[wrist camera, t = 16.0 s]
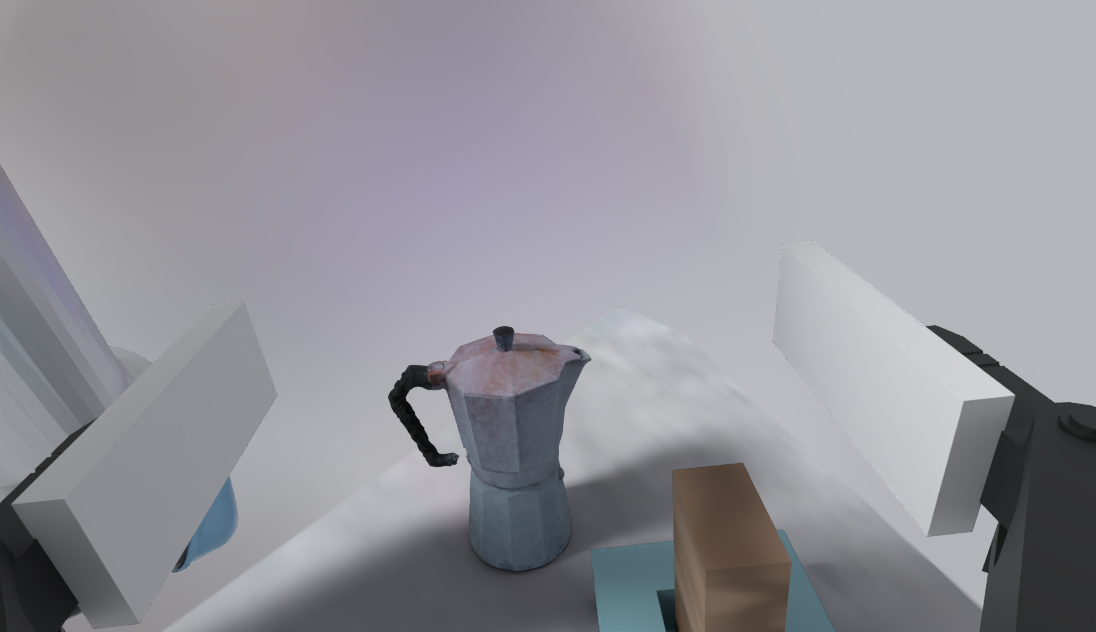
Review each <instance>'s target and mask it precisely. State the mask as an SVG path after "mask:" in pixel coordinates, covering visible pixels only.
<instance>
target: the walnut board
mask: <svg viewBox="0 0 1096 632" xmlns="http://www.w3.org/2000/svg"><path fill="white" fill-rule="evenodd" d="M673 522H674V578H675V632H785V624H786V614H787V604H788V594H789V584H790V575H791V565H792V561H791V559H790V557H789V555H788V553H787V551H786V549H785V547H784V545H783V543H782V541H781V539H780V537H779V535H778V533H777V531H776V529H775V527H774V525H773V523H772V521H771V519H770V517H769V515H768V513H767V511H766V509H765V507H764V504H763V502H762V500H761V498H760V496H759V494H758V492H757V490H756V488H755V486H754V484H753V482H752V480H751V478H750V476H749V474H748V472H747V470H746V468H745V466H744V464H743V463H736V464H727V465H717V466H708V467H698V468H689V469H679V470H673Z"/></svg>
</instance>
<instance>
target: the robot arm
mask: <svg viewBox="0 0 1096 632" xmlns="http://www.w3.org/2000/svg"><path fill="white" fill-rule="evenodd" d="M773 343H774V344H775V345H776V346H777V348H778V349H779V350H780V352H781V353H782V354H783V355H784V356H785V358H786V359H787V360H788V362H789V363H790V364H791V365H792V366H793V368H794V369H795V371H796V372H797V373H798V374H799V376H800V377H801V378H802V379H803V381H804V382H805V383H806V384H807V386H808V387H809V388H810V389H811V391H812V392H813V393H814V395H815V396H816V397H817V398H818V399H819V401H820V402H821V403H822V405H823V406H824V407H825V408H826V410H827V411H828V412H829V413H830V415H831V416H832V417H833V418H834V420H835V421H836V422H837V424H838V425H839V426H840V427H841V429H842V430H843V431H844V432H845V434H846V435H847V436H848V437H849V439H850V440H851V441H852V442H853V444H854V445H855V446H856V448H857V449H858V450H859V451H860V452H861V454H862V455H863V456H864V458H865V459H866V460H867V462H868V463H869V464H870V465H871V467H872V468H873V469H874V470H875V472H876V473H877V474H878V475H879V477H880V478H881V479H882V481H883V482H884V483H885V484H886V486H887V487H888V488H889V489H890V491H891V492H892V493H893V494H894V496H895V497H896V498H897V499H898V501H899V502H900V503H901V505H902V506H903V507H904V508H905V510H906V511H907V512H908V513H909V515H910V516H911V517H912V518H913V520H914V521H915V522H916V523H917V525H918V526H919V527H920V528H921V530H922V531H923V532H924V534H925V535H926V536H927V537H929V536H938V535H947V534H956V533H965V532H972V531H973V528H974V525H975V522H976V519H977V515H978V512H979V509H980V506H981V504H982V505H983V506H984V507H985V508H986V509H987V510H988V511H989V512H990V513H991V514H992V515H993V516H994V517H995V518H996V519H997V520H998V525H997V528H996V531H995V534H994V537H993V540H992V543H991V546H990V549H989V551H988V554H987V558H986V560H985V563H984V566H983V569H982V571H984V572H987V573H988V577H987V584H986V591H985V599H984V605H983V612H982V619H981V626H980V632H1096V407H1094V406H1091V405H1084V404H1078V403H1071V402H1063V403H1054V402H1053V401H1052V400H1050V399H1048V398H1047V397H1046V396H1045V395H1043V394H1042V393H1040V392H1039V391H1038V390H1036V389H1035V388H1034V387H1032V386H1031V385H1029V384H1028V383H1027V382H1025V381H1024V380H1023V379H1021V378H1020V377H1018V376H1017V375H1015V374H1014V373H1013V372H1011V371H1010V370H1008V369H1007V368H1006V367H1005V366H1000V365H999V362H998V361H996V360H995V359H993V358H992V357H991V356H989V355H988V354H983V351H982V350H981V349H979V348H978V347H977V346H975V345H974V344H972V343H971V342H970V341H968V340H967V339H966V338H964V337H963V336H960V335H958V334H955V333H953V332H951V331H948V330H946V329H943V328H941V327H939V326H936V325H934V326H924V325H923V324H921V323H920V322H919V321H917V320H916V319H915V318H913V317H912V316H911V315H909V314H908V313H907V312H906V311H904V310H903V309H902V308H900V307H899V306H898V305H897V304H895V303H894V302H893V301H891V300H890V299H889V298H887V297H886V296H885V295H883V294H882V293H881V292H879V291H878V290H877V289H876V288H874V287H873V286H872V285H870V284H869V283H868V282H866V281H865V280H864V279H862V278H861V277H860V276H858V275H857V274H856V273H855V272H853V271H852V270H851V269H849V268H848V267H847V266H845V265H844V264H843V263H841V262H840V261H839V260H838V259H836V258H835V257H833V256H832V255H831V254H830V253H828V252H827V251H826V250H824V249H823V248H822V247H820V246H819V245H818V244H816V243H815V242H814V241H805V242H796V243H787V244H782V247H781V258H780V270H779V280H778V291H777V302H776V313H775V323H774V334H773ZM276 397H277V392H276V389H275V387H274V384H273V381H272V378H271V375H270V372H269V369H268V367H267V364H266V361H265V358H264V355H263V353H262V350H261V347H260V344H259V341H258V339H257V336H256V333H255V330H254V327H253V325H252V322H251V319H250V316H249V313H248V311H247V308H246V305H245V302H244V301H239V302H229V303H221V304H212V305H211V306H210V307H209V308H208V309H207V310H206V311H205V312H204V313H203V314H202V315H201V316H200V317H199V318H198V319H197V320H196V321H195V322H194V323H193V324H192V325H191V326H190V327H189V328H188V329H187V330H186V331H185V332H184V333H183V334H182V335H181V336H180V337H179V338H178V339H177V340H176V341H175V342H174V343H173V344H172V345H171V346H170V347H169V348H168V349H167V350H166V351H165V352H164V353H163V354H162V355H161V356H160V357H159V358H158V359H157V360H156V361H155V362H154V363H151V362H150V361H148V360H147V359H146V358H144V357H142V356H140V355H138V354H136V353H134V352H131V351H128V350H126V349H123V348H118V347H113V346H108V344H107V342H106V341H105V339H104V337H103V335H102V334H101V332H100V330H99V329H98V327H97V325H96V324H95V322H94V321H93V319H92V317H91V315H90V314H89V312H88V310H87V309H86V307H85V305H84V304H83V302H82V300H81V299H80V297H79V295H78V294H77V292H76V290H75V289H74V287H73V285H72V284H71V282H70V280H69V279H68V277H67V275H66V274H65V272H64V270H63V268H62V267H61V265H60V263H59V262H58V260H57V258H56V257H55V255H54V254H53V252H52V250H51V248H50V247H49V245H48V243H47V242H46V240H45V238H44V237H43V235H42V233H41V232H40V230H39V228H38V227H37V225H36V224H35V222H34V220H33V218H32V217H31V215H30V213H29V212H28V210H27V208H26V207H25V205H24V203H23V202H22V200H21V198H20V197H19V195H18V193H17V191H16V190H15V188H14V186H13V185H12V183H11V181H10V180H9V178H8V177H7V175H6V173H5V171H4V170H3V168H2V166H1V165H0V632H66V631H65V630H64V629H63V627H62V625H63V623H64V622H65V621H66V620H68V619H70V618H72V617H74V616H76V615H79V614H81V613H83V614H84V615H85V617H86V618H87V620H88V622H89V623H90V624H91V626H92V628H93V629H97V628H107V627H116V626H125V625H134V624H140V623H141V621H142V620H143V618H144V616H145V615H146V613H147V611H148V610H149V608H150V606H151V605H152V603H153V601H154V600H155V598H156V596H157V595H158V593H159V591H160V590H161V588H162V587H163V585H164V583H165V581H166V580H167V578H168V577H169V575H170V573H171V572H178V571H181V570H184V569H185V568H187V567H188V566H189V565H190V563H191V562H193V561H195V560H197V559H198V558H200V557H202V556H204V555H206V554H208V553H210V552H212V551H214V550H216V549H218V548H219V547H221V546H223V545H224V544H226V543H227V542H228V541H229V540H230V539H231V537H232V536H233V534H234V533H235V530H236V528H237V523H238V512H237V506H236V501H235V496H234V491H233V487H232V484H231V480H230V476H229V475H230V473H231V472H232V470H233V468H234V467H235V465H236V463H237V462H238V460H239V459H240V457H241V455H242V453H243V452H244V450H245V448H246V447H247V445H248V443H249V442H250V440H251V438H252V437H253V435H254V434H255V432H256V430H257V428H258V427H259V425H260V424H261V422H262V420H263V418H264V417H265V415H266V414H267V412H268V410H269V409H270V407H271V405H272V404H273V402H274V400H275V399H276Z"/></svg>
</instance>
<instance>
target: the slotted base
mask: <svg viewBox="0 0 1096 632" xmlns="http://www.w3.org/2000/svg"><path fill="white" fill-rule="evenodd" d="M776 531H777V533H778V535H779V537H780V539H781V541H782V543H783V545H784V547H785V549H786V551H787V553H788V555H789V557H790V559H791V561H792V565H791V575H790V584H789V594H788V604H787V614H786V624H785V632H836V631H835V629H834V627H833V625H832V623H831V621H830V620H829V618H828V616H827V614H826V612H825V610H824V608H823V606H822V604H821V602H820V600H819V598H818V596H817V594H816V592H815V590H814V588H813V586H812V584H811V582H810V580H809V578H808V576H807V574H806V572H805V571H804V569H803V567H802V565H801V563H800V561H799V559H798V557H797V555H796V553H795V551H794V549H793V547H792V545H791V543H790V541H789V539H788V537H787V535H786V533H785V531H784V530H776ZM591 560H592V569H593V579H594V589H595V599H596V607H597V615H598V623H599V632H675V578H674V541H669V542H659V543H649V544H640V545H630V546H620V547H610V548H601V549H591Z"/></svg>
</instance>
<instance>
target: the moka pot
mask: <svg viewBox="0 0 1096 632" xmlns="http://www.w3.org/2000/svg"><path fill="white" fill-rule="evenodd" d="M493 334H494V335H491V336H489V337H486V338H482V339H479V340H476V341H474V342H471V343H468V344H465V345H462V346H460V347H459V348H458V349H457V350H456V352H455V354H454V355H453V356H452V358H451V359H450V360H449V361H438V362H433V363H431V364H429V366H421V365H409V366H408V368H407V369H406V371H405V372H403V373H402V377H401V380H398V381H397V382H396V383H395V385H394V389H393V390H392V391H391V392H390V394H389V396H388V399H389V401H390V404H391V408H392V410H393V412H394V413H395V414H396V415H397V417H398V418H399V419H400V421H401V423H402V424H403V425H404V426H405V428H406V429H407V431H408V432H409V434H410V435H411V437H412V439H413V440H414V441H415V442H416V443H417V446H418V449H419V450H420V451H421V452H422V453H423V456H424V457H425V458H426V461H427V462H428V464H429V465H430V466H433V467H442V466H451V465H456V464H457V460H458V457H459V456H458V455H457V454H455V453H448V454H440V453H438V451H437V450H436V448H435V446H434V445H433V444H432V443H430V441H429V440H428V439H429V438H428V436H427V434H426V432H425V430H424V427H423V426H422V425H421V423H420V421H419V419H418V418H417V417H416V415H415V412H414V410H413V409H412V407H411V405H410V404H409V403H408V402H407V401H406V396H407V394H408V392H409V390H411V389H412V388H414V387H423V388H425V389H427V390H440V389H443V388H444V389H445V390H446V391H447V394H448V397H449V400H450V403H451V407H452V410H453V413H454V416H455V420H456V423H457V426H458V431H459V433H460V437H461V441H462V443H463V447H464V448H466V451H467V452H468V453H467V456H466V457H467V460H468V462H469V463H470V464H471V468H472V470H471V481H470V515H469V542H470V544H471V546H472V548H473V549H474V551H475V553H476V554H477V555H478V556H479V557H480V558H481V559H482V560H483V561H484V562H486V563H487V564H489V565H491V566H494V567H497V568H500V569H504V570H510V571H524V570H528V569H533V568H537V567H541V566H543V565H545V564H547V563H548V562H551V561H552V560H554V559H555V558H556V557H557V556H558V555H559V554H560V553H561V552H562V551H563V550H564V549H565V547H566V546H567V544H568V543H569V539H570V530H571V525H570V523H571V519H570V512H569V507H568V502H567V497H566V492H565V487H564V482H563V477H564V471H563V469H562V468H560V463H559V459H558V458H559V443H560V440H561V436H562V432H563V422H564V412H565V406H566V404H567V401H568V399H569V397H570V395H571V393H572V390H573V388H574V386H575V384H576V382H577V379H578V377H579V375H580V373H581V371H582V369H583V367H584V366H585V364H586V363H587V362H588V361H590V360H591V358H590V356H589V355H588V354H587V353H586V352H585V351H584V350H582V349H578V348H576V347H574V346H568V345H557V344H555V343H553V342H552V341H551V340H550V339H548V338H547V337H545V336H544V335H537V334H520V333H514V330H513V328H512V327H508V326H502V327H498V328H496V329H495V330H494V331H493Z"/></svg>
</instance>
